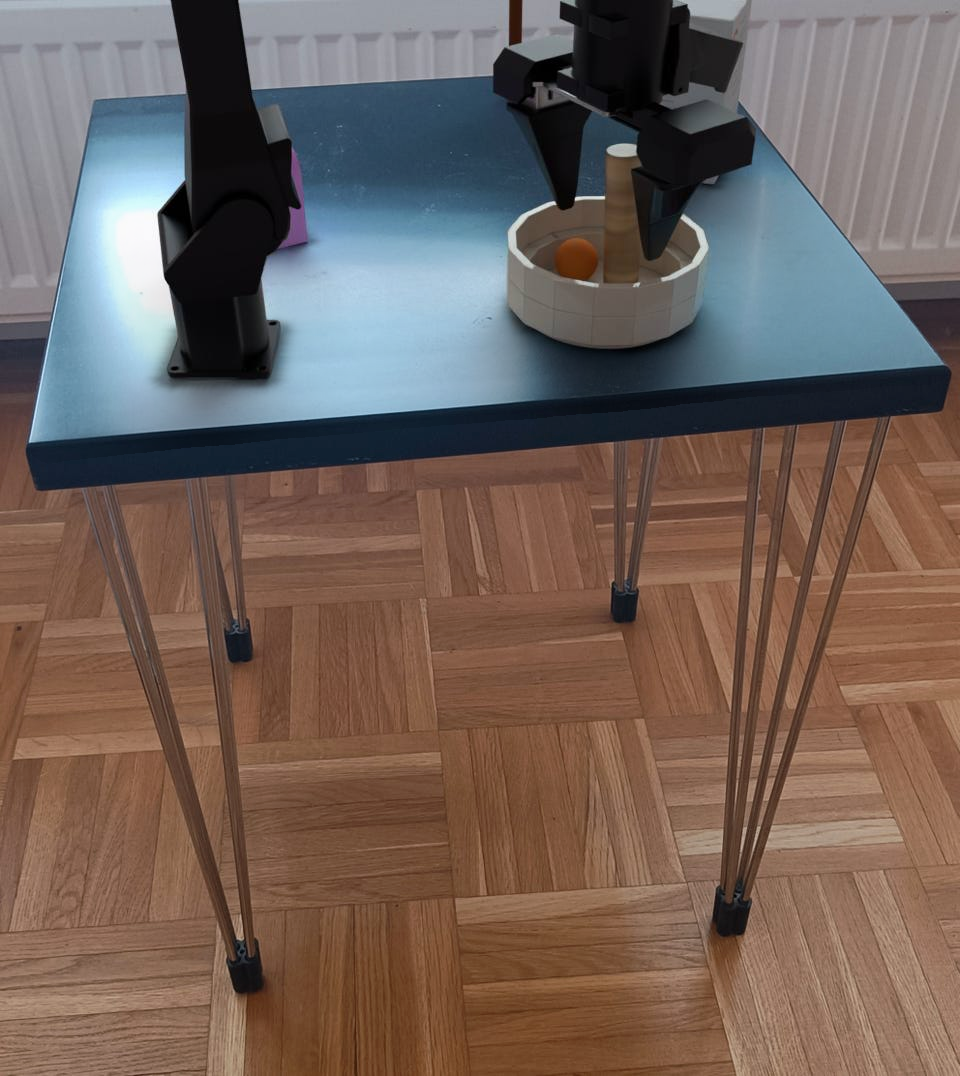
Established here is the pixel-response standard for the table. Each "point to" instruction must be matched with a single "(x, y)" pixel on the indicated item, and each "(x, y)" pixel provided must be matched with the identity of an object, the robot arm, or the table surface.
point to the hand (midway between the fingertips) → (607, 232)
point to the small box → (726, 10)
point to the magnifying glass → (515, 22)
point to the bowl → (601, 281)
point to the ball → (576, 259)
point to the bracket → (297, 216)
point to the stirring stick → (620, 216)
